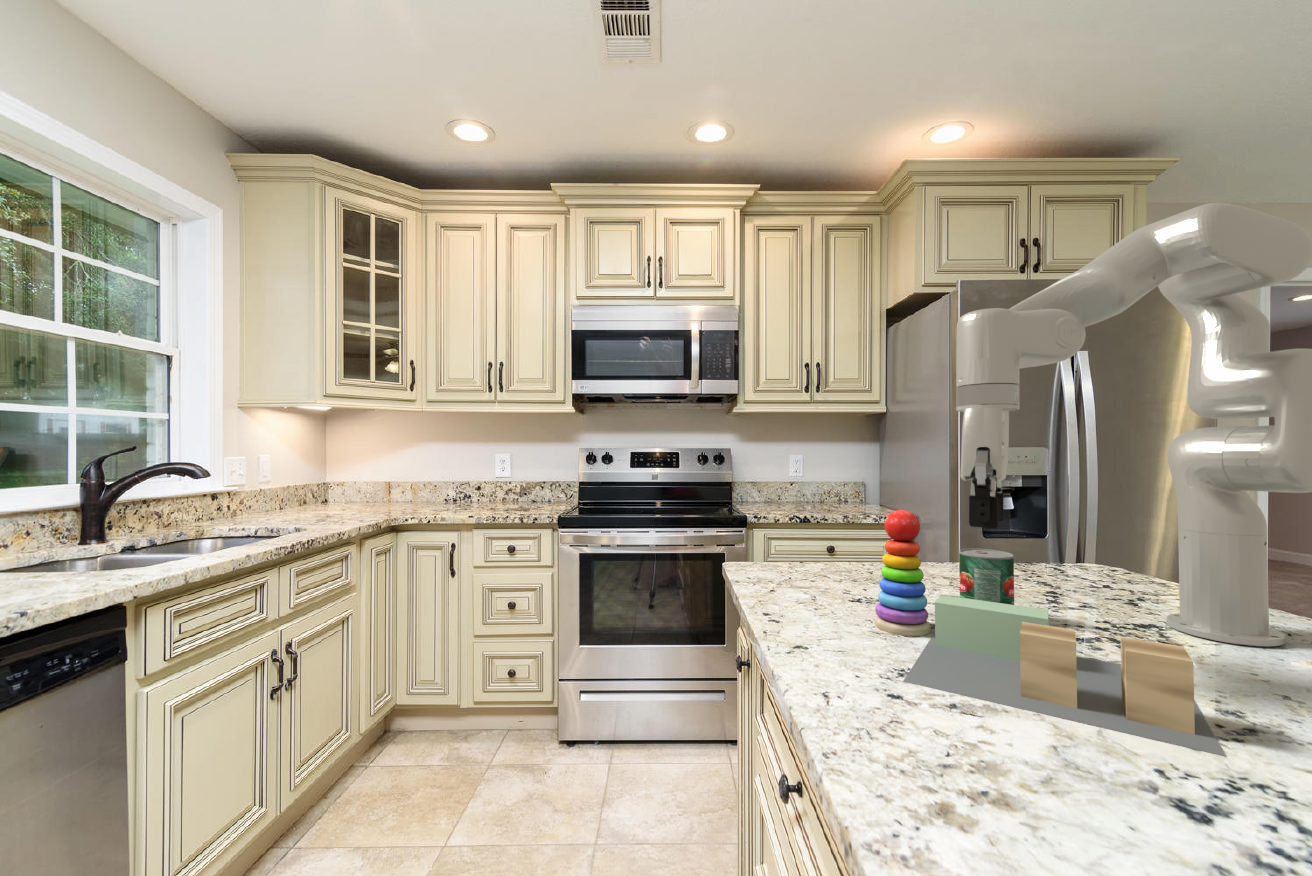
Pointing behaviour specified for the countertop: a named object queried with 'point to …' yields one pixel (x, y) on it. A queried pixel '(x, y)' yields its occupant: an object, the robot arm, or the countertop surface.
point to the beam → (983, 625)
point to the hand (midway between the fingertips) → (987, 523)
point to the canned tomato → (987, 575)
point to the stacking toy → (902, 580)
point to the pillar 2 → (1157, 684)
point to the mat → (1094, 702)
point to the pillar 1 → (1048, 664)
